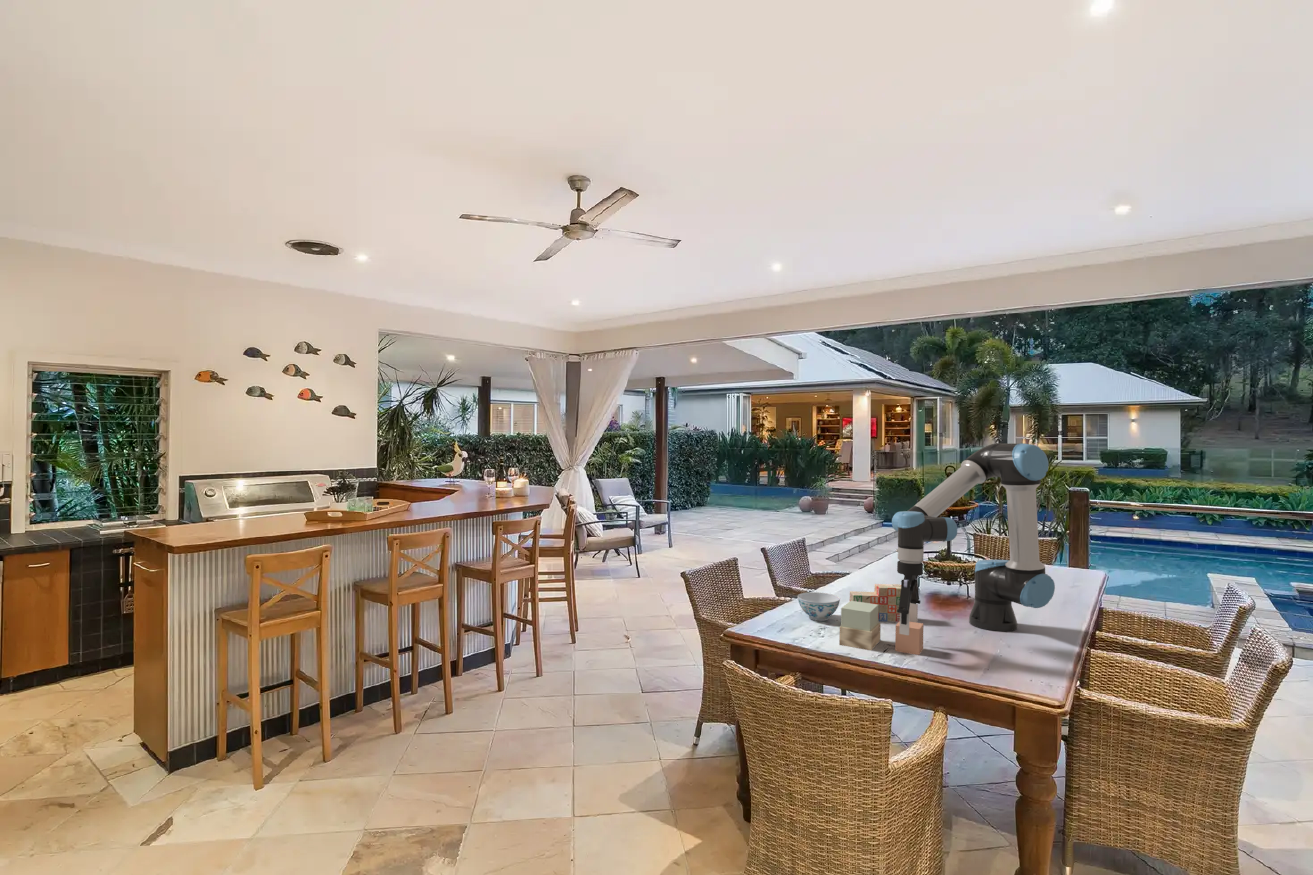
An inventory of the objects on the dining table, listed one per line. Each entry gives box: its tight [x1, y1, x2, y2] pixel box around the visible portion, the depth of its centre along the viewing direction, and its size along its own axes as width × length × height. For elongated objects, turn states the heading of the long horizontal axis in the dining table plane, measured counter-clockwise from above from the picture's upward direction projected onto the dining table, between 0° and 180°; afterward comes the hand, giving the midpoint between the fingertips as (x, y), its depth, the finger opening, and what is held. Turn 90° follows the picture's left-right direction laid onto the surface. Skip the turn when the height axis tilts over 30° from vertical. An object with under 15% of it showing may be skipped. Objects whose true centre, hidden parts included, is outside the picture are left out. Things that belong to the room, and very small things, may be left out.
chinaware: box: [797, 591, 841, 622], centre depth 240 cm, size 15×15×8 cm
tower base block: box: [838, 622, 882, 651], centre depth 213 cm, size 10×12×6 cm
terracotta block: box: [894, 621, 924, 656], centre depth 206 cm, size 7×7×8 cm
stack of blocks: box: [849, 583, 911, 623], centre depth 240 cm, size 21×6×12 cm, turn 85°
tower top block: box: [840, 600, 879, 631], centre depth 213 cm, size 9×11×6 cm
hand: (908, 629), depth 206 cm, fingers open, 13 cm apart
